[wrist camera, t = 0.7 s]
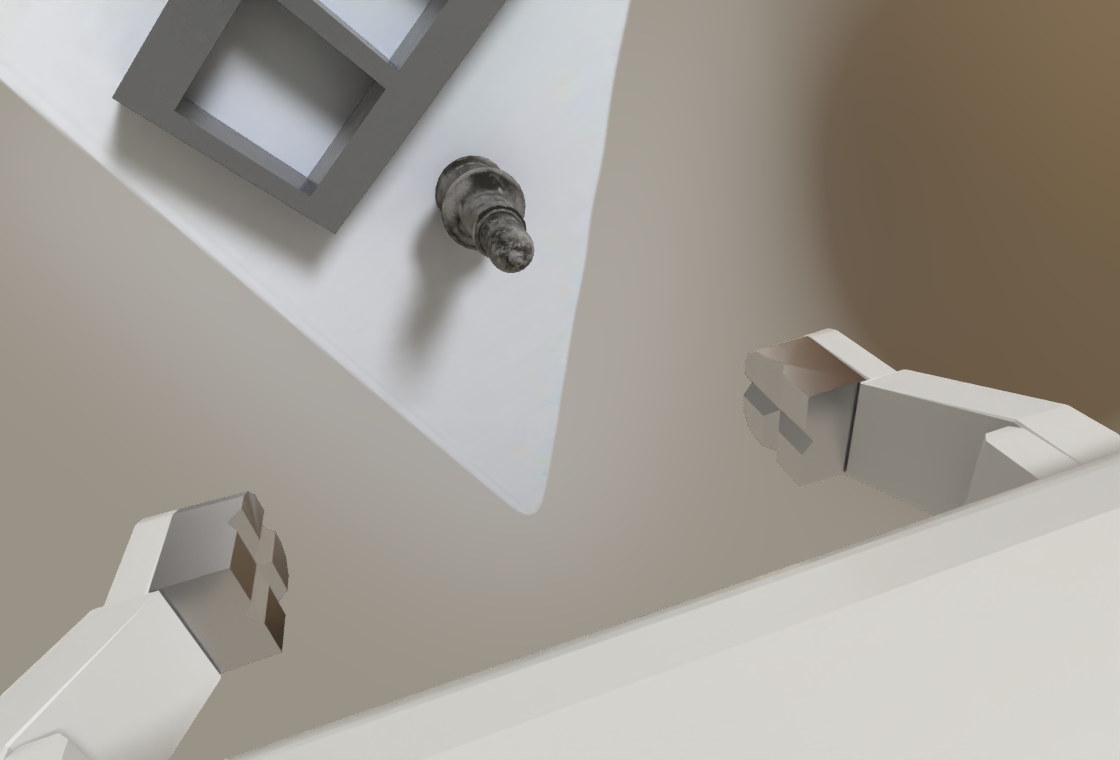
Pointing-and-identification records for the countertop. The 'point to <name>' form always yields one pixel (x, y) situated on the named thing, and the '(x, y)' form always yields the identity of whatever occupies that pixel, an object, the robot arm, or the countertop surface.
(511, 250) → the grey stone finial
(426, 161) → the countertop surface
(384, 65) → the grey rectangular frame piece
